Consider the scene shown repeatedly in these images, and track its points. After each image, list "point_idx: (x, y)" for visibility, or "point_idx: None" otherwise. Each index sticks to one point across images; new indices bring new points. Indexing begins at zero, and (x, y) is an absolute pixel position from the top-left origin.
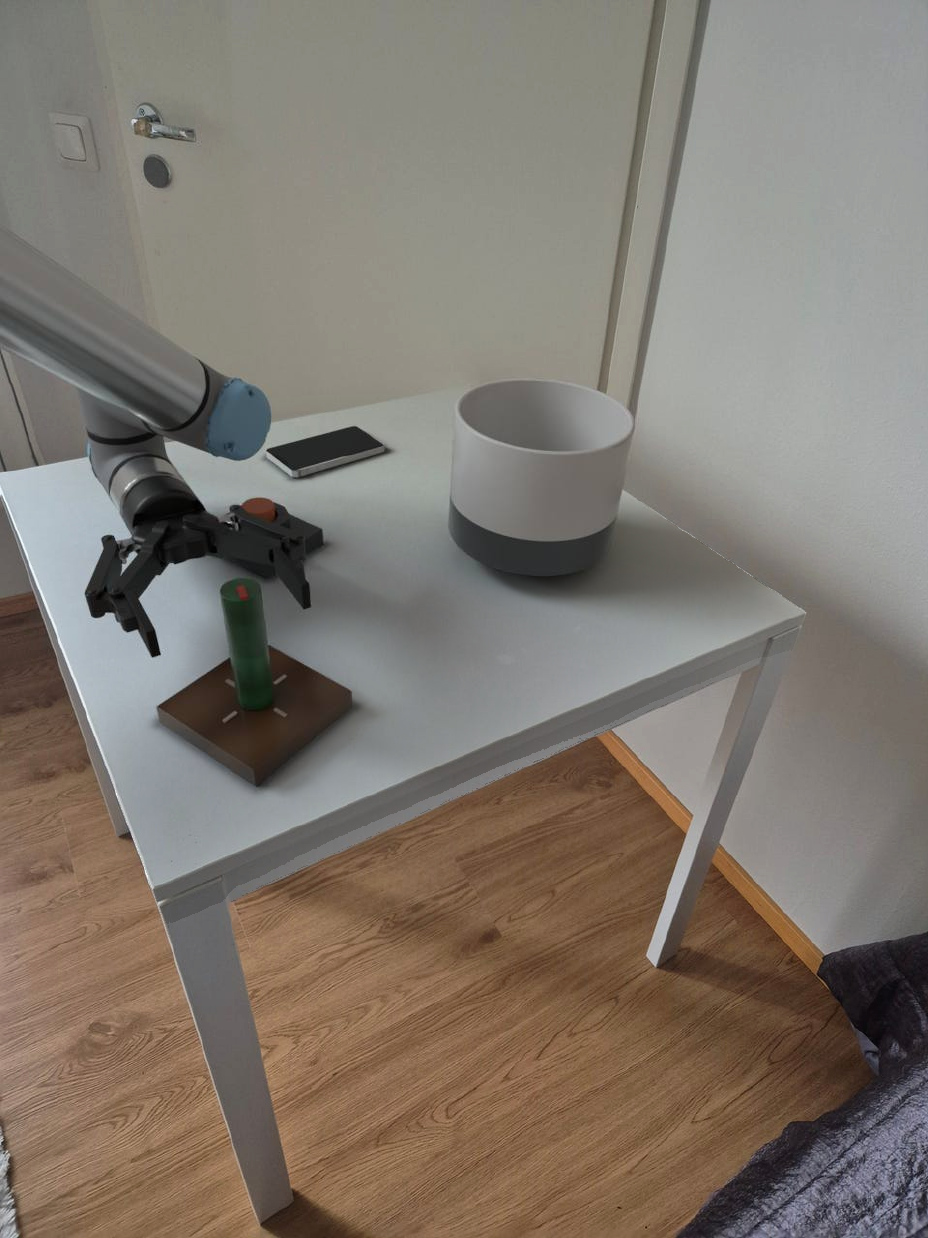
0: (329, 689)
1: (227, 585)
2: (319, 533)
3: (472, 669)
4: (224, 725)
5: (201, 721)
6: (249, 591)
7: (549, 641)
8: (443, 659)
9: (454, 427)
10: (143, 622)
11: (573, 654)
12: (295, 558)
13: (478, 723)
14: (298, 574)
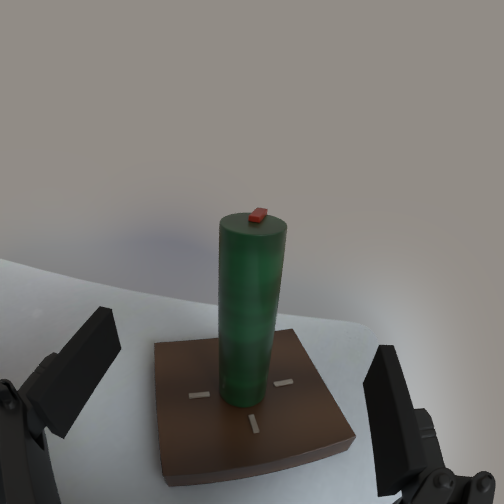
0: (168, 356)
1: (267, 229)
2: None
3: (57, 322)
4: (294, 377)
5: (314, 393)
6: (245, 217)
7: (9, 303)
8: (54, 341)
9: None
10: (396, 366)
11: (19, 290)
12: (34, 377)
13: (111, 297)
14: (86, 327)
